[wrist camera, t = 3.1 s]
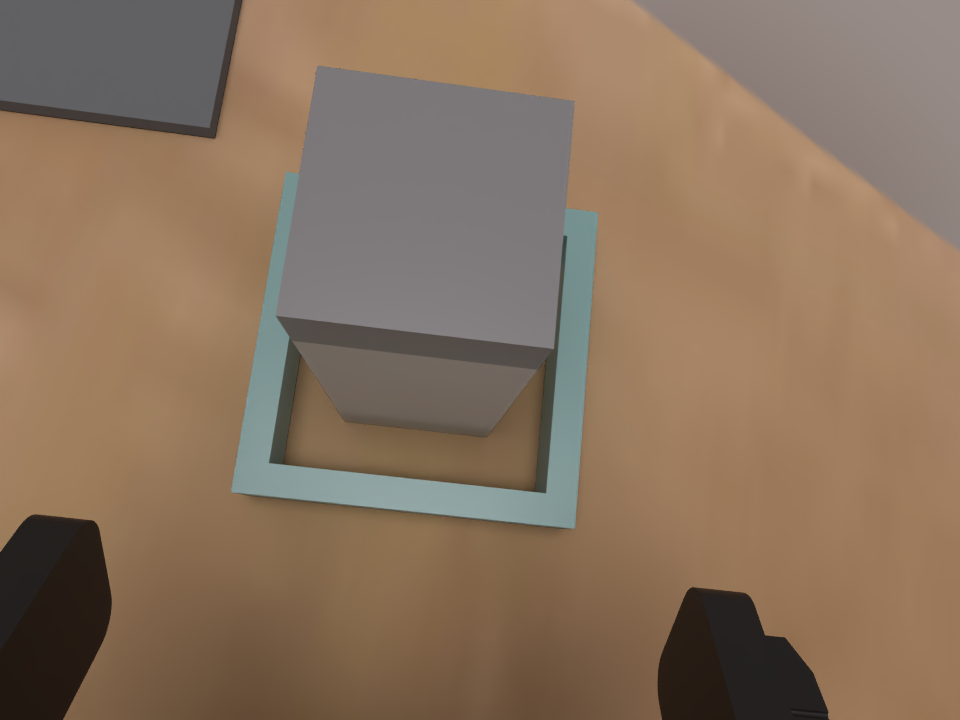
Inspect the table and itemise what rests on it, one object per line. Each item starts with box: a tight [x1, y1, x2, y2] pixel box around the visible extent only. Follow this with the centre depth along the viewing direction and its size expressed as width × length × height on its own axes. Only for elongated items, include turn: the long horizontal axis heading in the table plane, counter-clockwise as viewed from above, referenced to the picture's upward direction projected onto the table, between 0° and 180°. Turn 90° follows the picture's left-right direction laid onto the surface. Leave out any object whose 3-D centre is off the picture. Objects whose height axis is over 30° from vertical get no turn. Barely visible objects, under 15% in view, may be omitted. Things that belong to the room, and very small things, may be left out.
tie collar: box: [231, 172, 598, 529], centre depth 21 cm, size 9×9×2 cm
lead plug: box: [276, 66, 575, 437], centre depth 17 cm, size 4×4×11 cm
